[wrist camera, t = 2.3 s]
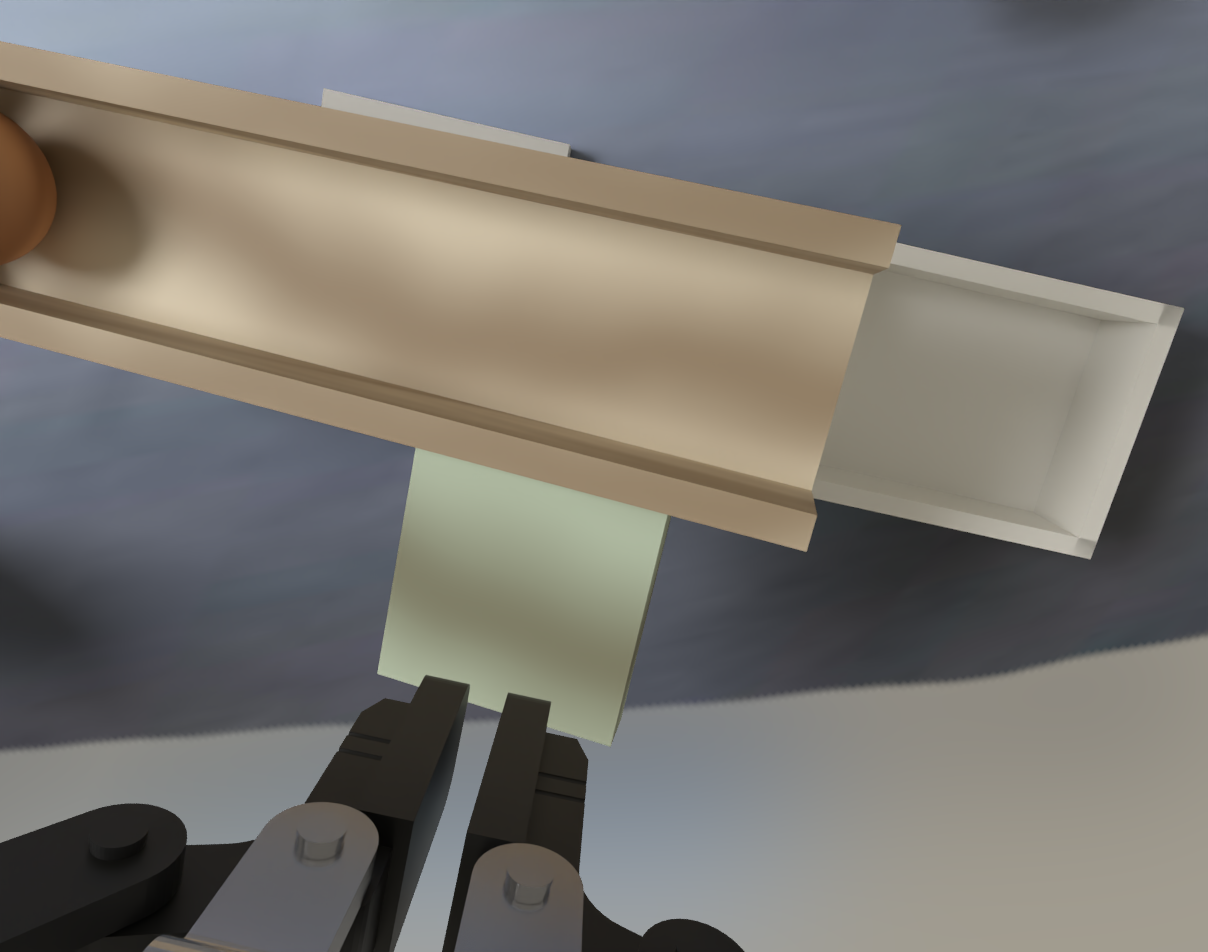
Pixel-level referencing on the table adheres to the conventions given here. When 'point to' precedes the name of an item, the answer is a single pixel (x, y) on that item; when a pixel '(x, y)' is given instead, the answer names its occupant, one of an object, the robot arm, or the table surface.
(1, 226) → the ball
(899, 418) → the bin
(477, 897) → the robot arm
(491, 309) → the tilting chute
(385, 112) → the chute stand
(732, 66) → the table surface
